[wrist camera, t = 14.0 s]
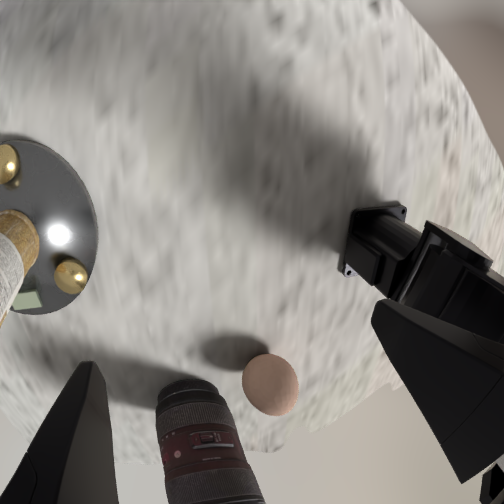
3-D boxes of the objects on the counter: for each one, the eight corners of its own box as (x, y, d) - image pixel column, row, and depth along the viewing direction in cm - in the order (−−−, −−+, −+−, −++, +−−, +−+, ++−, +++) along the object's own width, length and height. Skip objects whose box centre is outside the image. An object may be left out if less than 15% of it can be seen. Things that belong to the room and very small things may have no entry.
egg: (255, 381, 30) (277, 430, 25) (224, 365, 27) (244, 422, 22) (291, 353, 30) (320, 402, 24) (263, 334, 27) (291, 389, 21)
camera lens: (134, 395, 26) (155, 530, 14) (196, 363, 26) (241, 511, 14) (181, 422, 30) (211, 533, 18) (237, 395, 31) (284, 511, 18)
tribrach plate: (82, 119, 14) (75, 120, 13) (116, 296, 20) (115, 311, 19) (-58, 167, 11) (-71, 174, 9) (-11, 313, 17) (-17, 326, 15)
